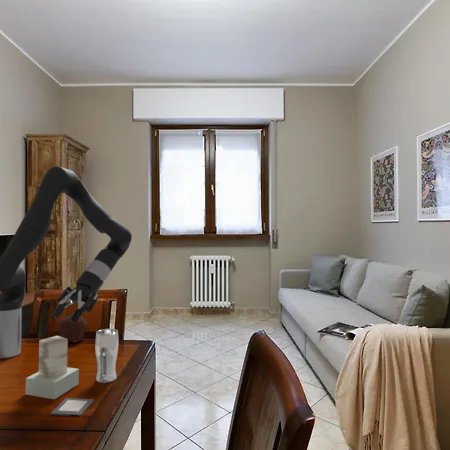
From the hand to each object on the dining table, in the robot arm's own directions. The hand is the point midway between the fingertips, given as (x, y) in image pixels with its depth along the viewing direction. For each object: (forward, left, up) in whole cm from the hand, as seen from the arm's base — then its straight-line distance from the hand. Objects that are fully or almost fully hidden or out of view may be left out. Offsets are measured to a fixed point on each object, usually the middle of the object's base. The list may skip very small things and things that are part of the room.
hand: (63, 319), depth 109 cm
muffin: (-17, +41, -20) cm, 48 cm away
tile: (+10, -14, -20) cm, 26 cm away
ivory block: (-1, -4, -15) cm, 16 cm away
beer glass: (+12, +4, -20) cm, 24 cm away
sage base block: (-1, -4, -20) cm, 20 cm away
